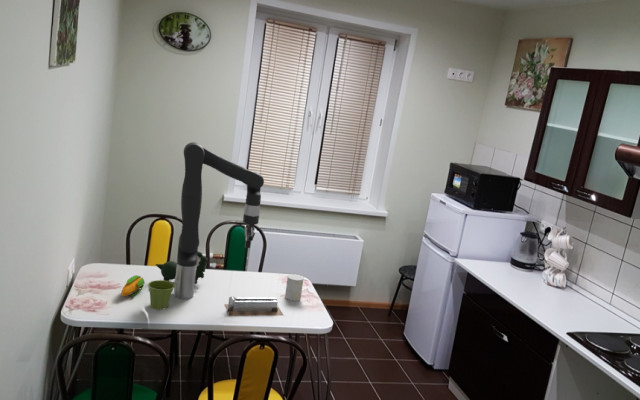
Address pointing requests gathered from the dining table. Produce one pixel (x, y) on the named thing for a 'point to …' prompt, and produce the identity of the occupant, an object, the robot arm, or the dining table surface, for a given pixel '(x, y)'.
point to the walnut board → (253, 313)
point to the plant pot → (160, 293)
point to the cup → (294, 287)
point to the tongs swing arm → (256, 299)
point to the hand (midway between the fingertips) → (247, 247)
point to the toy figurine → (170, 267)
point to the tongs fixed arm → (252, 306)
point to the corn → (133, 285)
